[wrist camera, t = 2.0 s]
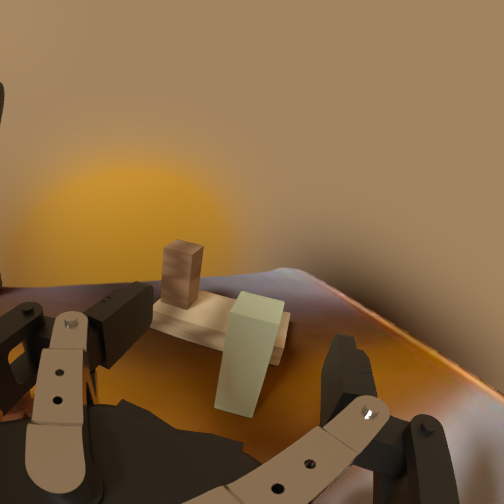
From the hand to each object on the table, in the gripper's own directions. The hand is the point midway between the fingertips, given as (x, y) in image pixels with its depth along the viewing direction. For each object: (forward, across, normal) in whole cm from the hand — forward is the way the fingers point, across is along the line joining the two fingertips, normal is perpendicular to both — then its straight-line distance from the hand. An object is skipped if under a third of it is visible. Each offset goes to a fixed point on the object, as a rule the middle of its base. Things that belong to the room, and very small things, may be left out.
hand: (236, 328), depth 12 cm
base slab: (+23, +6, +17) cm, 29 cm away
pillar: (+11, 0, +17) cm, 20 cm away
